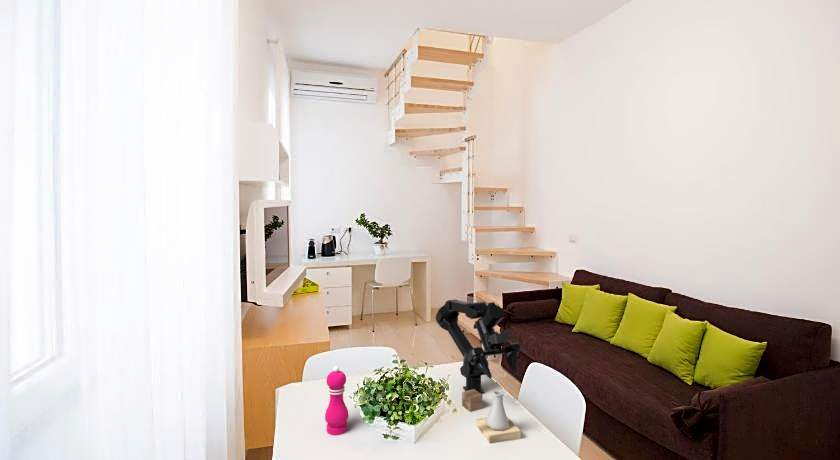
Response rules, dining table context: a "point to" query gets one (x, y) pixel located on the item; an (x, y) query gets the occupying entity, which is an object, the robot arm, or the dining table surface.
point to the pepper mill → (336, 403)
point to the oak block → (498, 432)
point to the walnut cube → (472, 400)
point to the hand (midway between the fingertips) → (503, 376)
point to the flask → (497, 413)
